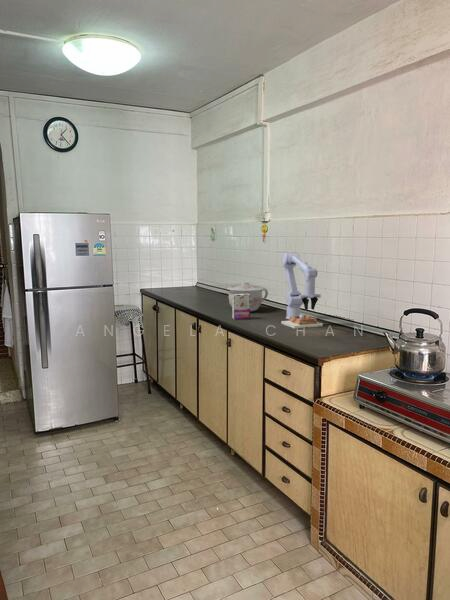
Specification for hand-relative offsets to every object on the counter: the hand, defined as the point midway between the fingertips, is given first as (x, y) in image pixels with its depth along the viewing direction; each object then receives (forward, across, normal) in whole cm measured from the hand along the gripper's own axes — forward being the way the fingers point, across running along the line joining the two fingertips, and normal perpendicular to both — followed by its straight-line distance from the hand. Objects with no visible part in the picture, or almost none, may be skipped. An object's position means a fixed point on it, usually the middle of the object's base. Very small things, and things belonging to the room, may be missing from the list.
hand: (309, 309), depth 284 cm
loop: (+8, -4, 0) cm, 9 cm away
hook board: (+9, -5, 0) cm, 11 cm away
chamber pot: (+10, -16, +59) cm, 62 cm away
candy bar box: (+10, -32, +32) cm, 46 cm away
